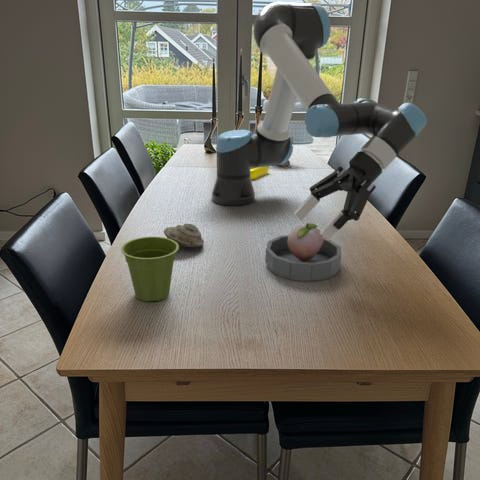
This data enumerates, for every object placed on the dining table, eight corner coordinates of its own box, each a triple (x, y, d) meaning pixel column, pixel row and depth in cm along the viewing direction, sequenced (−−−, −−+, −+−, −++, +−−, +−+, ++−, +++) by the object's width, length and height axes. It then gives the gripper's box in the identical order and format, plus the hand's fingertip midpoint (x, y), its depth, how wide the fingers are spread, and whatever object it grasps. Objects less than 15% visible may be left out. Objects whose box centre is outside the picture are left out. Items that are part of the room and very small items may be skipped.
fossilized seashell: (172, 244, 117) (173, 217, 119) (156, 250, 126) (157, 225, 128) (209, 248, 123) (210, 223, 124) (191, 255, 132) (192, 230, 133)
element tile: (269, 173, 200) (270, 162, 198) (251, 181, 188) (251, 169, 186) (240, 168, 207) (240, 158, 205) (221, 176, 195) (221, 164, 193)
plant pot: (171, 311, 95) (168, 261, 91) (116, 305, 97) (111, 255, 93) (187, 284, 106) (185, 238, 102) (137, 279, 108) (133, 234, 103)
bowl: (261, 277, 109) (262, 260, 108) (270, 247, 126) (271, 232, 124) (339, 285, 106) (341, 267, 105) (338, 253, 123) (340, 237, 121)
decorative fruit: (293, 250, 121) (296, 214, 118) (324, 257, 118) (328, 220, 114) (280, 263, 114) (283, 225, 110) (312, 271, 110) (316, 232, 106)
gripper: (413, 184, 102) (345, 256, 103) (351, 159, 124) (296, 218, 125) (396, 162, 98) (326, 236, 99) (336, 140, 120) (279, 201, 121)
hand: (309, 226), depth 112 cm, fingers open, 13 cm apart
